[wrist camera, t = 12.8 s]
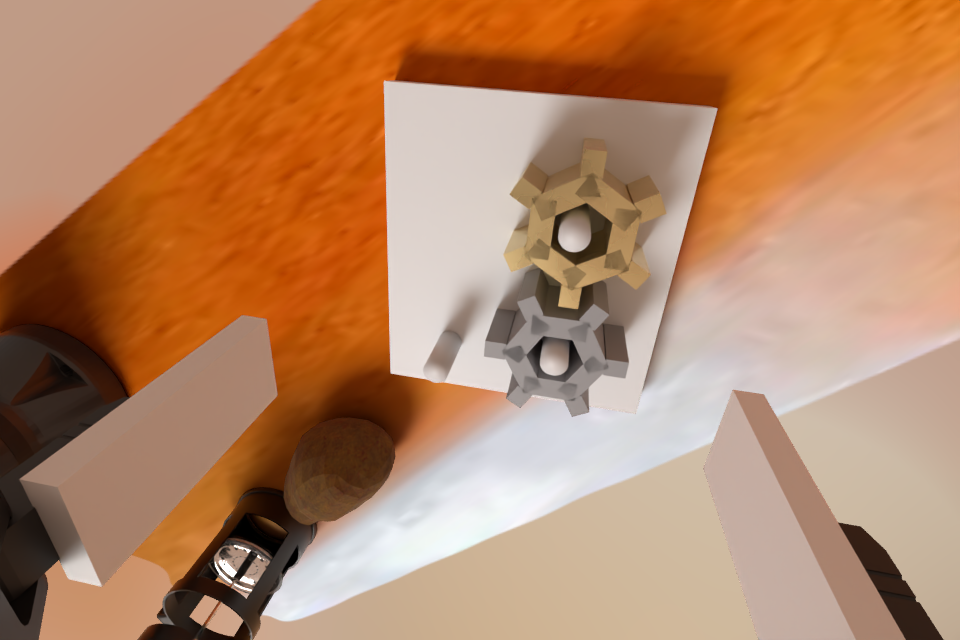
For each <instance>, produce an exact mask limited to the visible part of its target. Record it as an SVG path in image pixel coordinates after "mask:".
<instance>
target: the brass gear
mask: <svg viewBox="0 0 960 640" xmlns="http://www.w3.org/2000/svg"><path fill="white" fill-rule="evenodd" d="M607 152H608V151H607V148H606V144H605V141H604V139H594V138H584V143H583V149H582V155H581V161H580V163H578V164H575V165H573V166H571V167H569V168H566V169H564V170H562V171H559V172H557V173H555V174H553V175H550V176H548V175H547V174H546V173H545V172H543V171H542V170H541V169H539V168H538V167H537V166H535V165H534V164H533V163H532V162H530V164H529V165H528V166H527V168H526V169H525V171H524V172H523V173H522V175H521V176H520V177H519V179H518V181H517V183H516V184H515V186H514V188H513V189H512V191H511V193H510V194H509V195H510V196H512V197H513V198H514V199H516V200H517V201H518V202H520V203H521V204H522V205H524V206H525V207H526V208H528V209H530V208H531V210H530V218H529V224H528V225H526V226H523V227H521V228H518V229H516V230H514V231H513V233H512V235H511V238H510V240H509V242H508V245H507V247H506V249H505V251H504V254H503V255H504V258H505V260H506V262H507V264H508V266H509V268H510V271H511V272H513V271H516V270H519V269H521V268H524V267H527V266H529V265H532V264H533V263H534V264H535V265H536V266H538V267H539V268H541V269H542V270H543V271H545V272H546V273H547V274H549V275H550V276H551V277H553V278H554V279H555V280H557V281H558V282H560V283H561V284H560V293H559V303H558V306H559V307H566V308H572V309H578V306H579V301H580V295H581V290H582V287H584V286H586V285H589V284H592V283H595V282H598V281H601V280H604V279H607V278H610V277H612V276H615V275H617V276H618V277H620V278H621V279H622V280H624V281H625V282H626V283H628V284H629V285H630V286H632V287H633V288H634V289H636V290H637V289H638V288H639V287H640V286H641V285H642V284H643V283H644V282H645V281H646V280H647V279H648V277H649V276H650V275H651V273H650V270H649V267H648V264H647V261H646V258H645V255H644V252H643V249H642V247H641V246H640V245H639V244H637V243H636V242H635V240H636V236H637V232H638V227H639V223H643V222H646V221H649V220H651V219H654V218H657V217H659V216H662V215H665V214H667V213H666V210H665V207H664V204H663V201H662V197H661V194H660V192H659V190H658V189H657V187H656V186H655V184H654V182H653V181H652V179H651V177H650V176H649V175H648V176H646V177H643V178H641V179H638V180H636V181H633V182H631V183H629V184H627V186H626V185H625V184H624V183H623V182H621V181H620V180H619V179H617V178H616V177H615V176H614V175H612V174H611V173H610V172H608V171H607V170H606V169H605V163H606V158H607ZM585 203H588V204H589V205H590V206H592V207H593V208H594V209H595V210H597V211H598V212H599V213H601V214H602V215H603V216H605V217H606V218H605V224H604V229H603V230H600V231H598V232H595V233H593V234H591V240H590V243H589V245H588V246H587V247H586V248H585V249H583V250H582V251H579V252H569V251H567V250H565V249H564V248H563V247H562V246H561V245H560V243H559V240H558V234H559V226H558V225H557V224H555V218H556V215H558V214H560V213H563V212H565V211H568V210H570V209H573V208H575V207H577V206H580V205H582V204H585Z"/></svg>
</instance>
